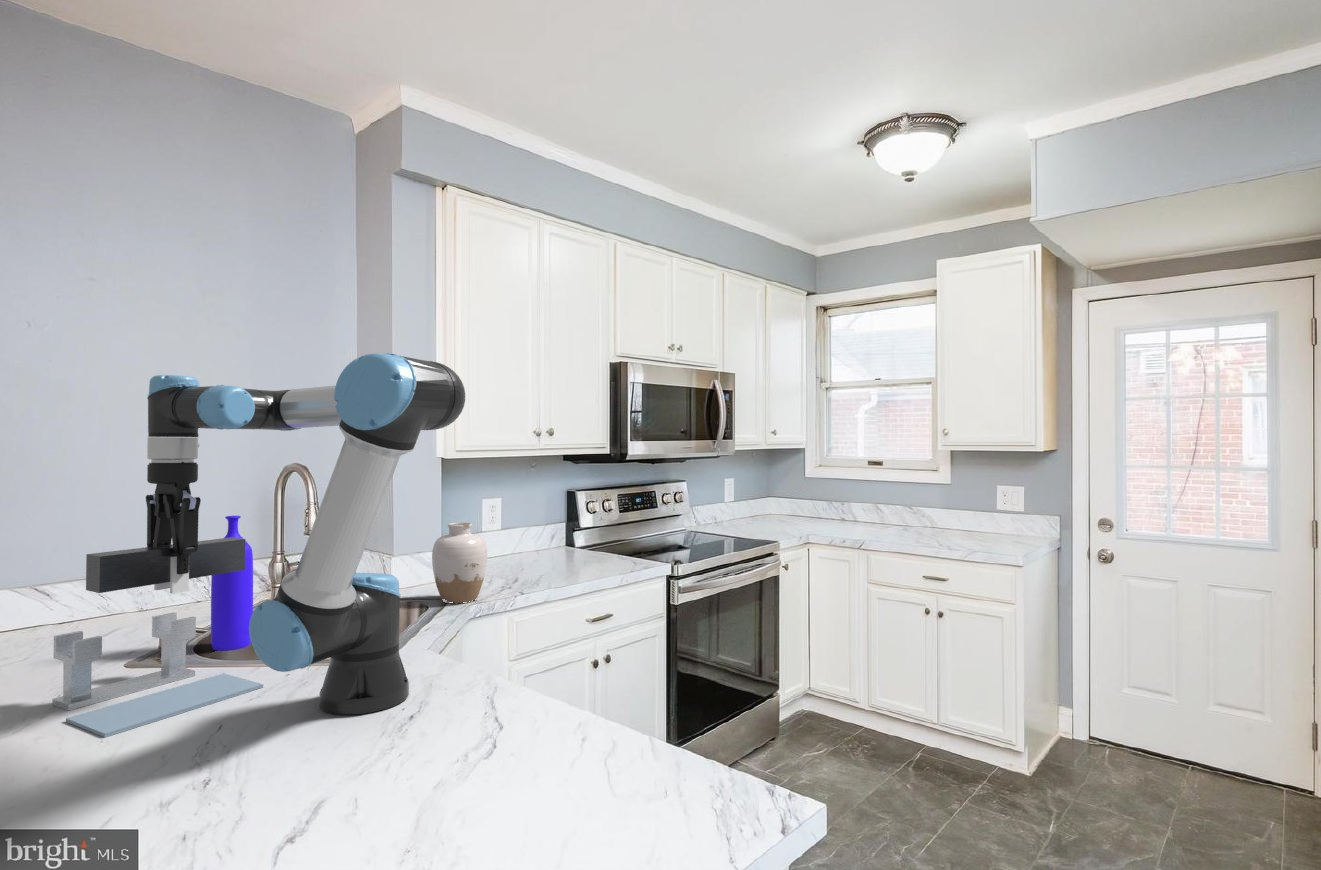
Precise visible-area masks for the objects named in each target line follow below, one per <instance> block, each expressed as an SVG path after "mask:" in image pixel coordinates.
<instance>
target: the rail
mask: <svg viewBox="0 0 1321 870" xmlns="http://www.w3.org/2000/svg"><path fill="white" fill-rule="evenodd" d="M245 540H246V538H244V539H241V538H233V537H230V538H224V537H222V538H214V539H205V540H198V550H197V552H193V553H192V554H191V555H189V580H191V579H198V578H202V577H210V576H211V575H217V574H223V573H229V572H235V571H242V570H245ZM172 553H174V551H173V543H171V544H170V545H162V546H153V547H147V546H146V547H145V546H144V547H137V548H128V549H120V550H114V551H113V550H112V551H111V550H110V551H103V552H95V553H94V552H93V553H87V554H85V555H86V558H85V559H86V563H85V565H86V566H85V567H86V568H85V570H86V571H85V577H86V579H85V591H89V592H91V593H96V594H101V593H102V594H103V593H108V592H109V593H110V592H115V591H123V590H128V589H135V588H140V587H145V586H146V587H147V586H152V585H153V586H154V584H160V583H166V582H170V564H171V557H170V556H169V554H172Z"/></svg>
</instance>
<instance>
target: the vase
mask: <svg viewBox="0 0 1321 870" xmlns="http://www.w3.org/2000/svg"><path fill="white" fill-rule="evenodd" d="M472 527H473V523H471V522H451V523H448V524H447V528H448V531H449V532H448V533H449V534H445V535H442V536H440V537H438V538H437V539H436V541H435V542H434V544H433V548H432V552H431V564H432V571H433V578H434V582H435V586H436V589H437V591H438V594H439V597H440V599H441V598H442V599H445V600H447V601H449V602H453V603H463V602H469V601H472V600H475V599H476V598H477V599H478V596H479V594H480V592H481V589H482V587H483V582H484V579H485V576H486V569H487V563H488V548H487V544H486V541H485V539H484V538H483V537H482V536H480V535H478V534H474V533H472V532H471V531H472ZM442 599H441V600H442ZM477 599H476V600H477ZM476 600H475V601H476ZM469 603H470V602H469ZM463 604H464V603H463Z"/></svg>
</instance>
